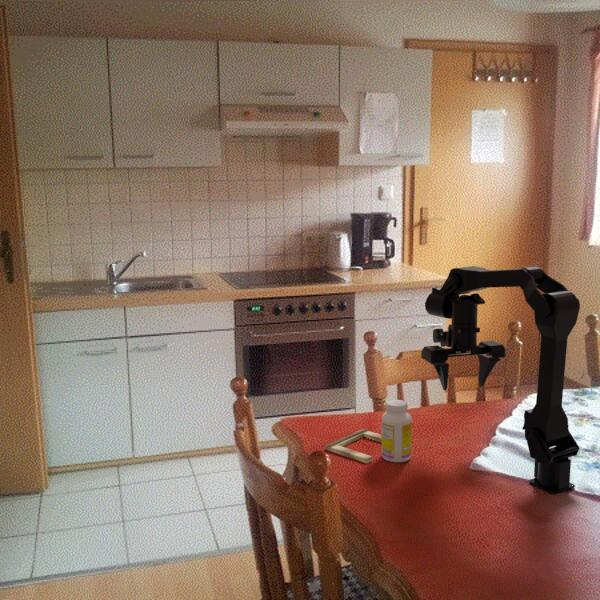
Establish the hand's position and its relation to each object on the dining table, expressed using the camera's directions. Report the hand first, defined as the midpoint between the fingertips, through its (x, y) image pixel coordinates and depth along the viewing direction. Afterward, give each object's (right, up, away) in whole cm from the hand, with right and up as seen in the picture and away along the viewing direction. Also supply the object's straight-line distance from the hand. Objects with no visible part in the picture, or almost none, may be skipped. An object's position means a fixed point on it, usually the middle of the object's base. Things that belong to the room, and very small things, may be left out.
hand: (462, 388), depth 165 cm
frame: (-22, -14, +1) cm, 26 cm away
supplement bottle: (-16, -15, -5) cm, 23 cm away
